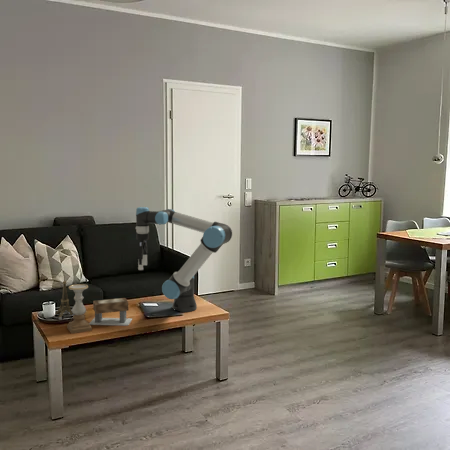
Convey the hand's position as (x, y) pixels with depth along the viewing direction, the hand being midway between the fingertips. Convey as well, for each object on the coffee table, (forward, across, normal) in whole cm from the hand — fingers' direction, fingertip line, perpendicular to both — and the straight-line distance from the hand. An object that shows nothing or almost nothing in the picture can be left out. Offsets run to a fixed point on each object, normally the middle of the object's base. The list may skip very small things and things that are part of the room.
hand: (142, 267), depth 308 cm
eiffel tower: (+27, +15, -43) cm, 53 cm away
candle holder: (+27, +37, -28) cm, 54 cm away
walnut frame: (+20, +24, -14) cm, 34 cm away
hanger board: (+27, +24, -14) cm, 39 cm away
